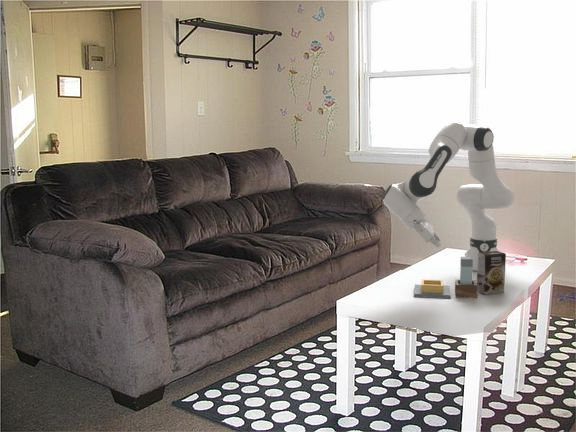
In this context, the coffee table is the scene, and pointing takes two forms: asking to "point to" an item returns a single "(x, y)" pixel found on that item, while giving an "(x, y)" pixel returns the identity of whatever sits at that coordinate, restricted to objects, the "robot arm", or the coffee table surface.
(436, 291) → the dock
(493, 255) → the coffee box
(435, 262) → the coffee table surface
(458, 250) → the coffee table surface
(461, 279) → the plug
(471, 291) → the box
